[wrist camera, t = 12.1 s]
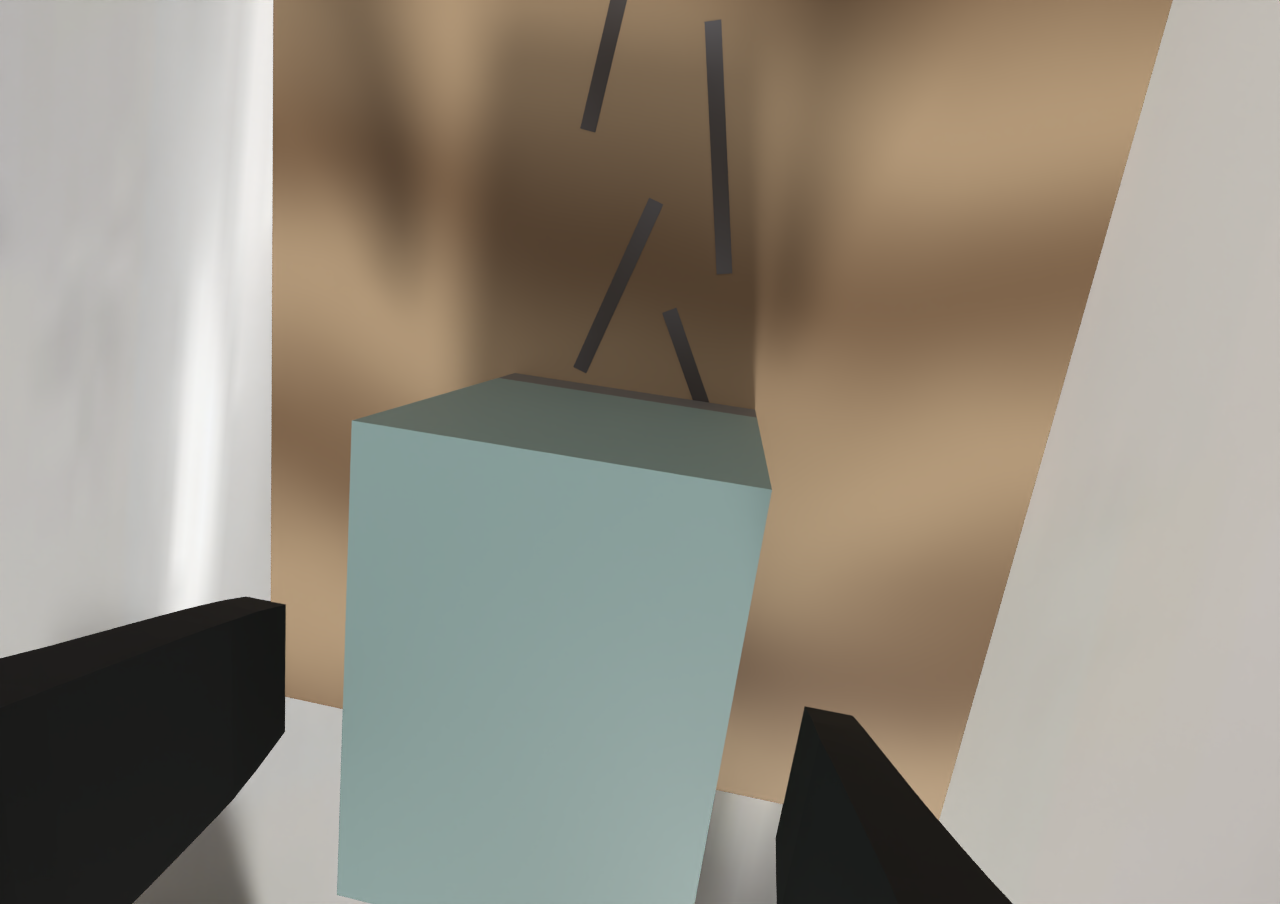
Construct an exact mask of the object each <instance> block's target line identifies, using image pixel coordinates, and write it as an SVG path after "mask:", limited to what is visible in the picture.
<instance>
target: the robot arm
mask: <svg viewBox="0 0 1280 904" xmlns="http://www.w3.org/2000/svg"><path fill="white" fill-rule="evenodd" d="M285 648H286V604H281V603H276V602H271V601H265V600H260V599H255V598H250V597H241V598H235V599H229V600H224V601H219V602H214V603H210V604H205V605H201V606H197V607H193V608H189V609H185V610H181V611H177V612H173V613H169V614H166V615H162V616H158V617H154V618H151V619H147V620H143V621H140V622H136V623H132V624H129V625H125V626H121V627H118V628H114V629H110V630H107V631H103V632H99V633H96V634H92V635H88V636H85V637H81V638H77V639H74V640H70V641H66V642H63V643H59V644H55V645H52V646H48V647H44V648H40V649H36V650H32V651H28V652H24V653H20V654H16V655H12V656H8V657H4V658H0V904H132V903H133V902H134V901H135V900H136V899H137V898H138V897H139V896H140V895H141V894H142V893H143V892H144V891H145V890H146V889H147V888H148V887H149V886H150V885H151V884H152V883H153V882H154V881H155V880H156V879H157V878H158V877H159V876H160V875H161V874H162V873H163V872H164V871H165V870H166V869H167V868H168V867H169V866H170V865H171V864H172V863H173V861H174V860H175V859H176V858H177V857H178V856H179V855H180V854H181V853H182V852H183V851H184V850H185V849H186V848H187V847H188V846H189V845H190V844H191V843H192V842H193V841H194V840H195V839H196V838H197V837H198V836H199V835H200V834H201V833H202V831H203V830H204V829H205V828H206V827H207V826H208V825H209V824H210V823H211V822H212V821H213V820H214V819H215V818H216V817H217V816H218V815H219V814H220V813H221V812H222V811H223V809H224V808H225V807H226V806H227V805H228V804H229V803H230V802H231V801H232V800H233V799H234V798H235V796H236V795H237V794H238V793H239V791H240V790H241V789H242V788H243V786H244V785H245V784H246V782H247V781H248V780H249V779H250V777H251V776H252V775H253V774H254V772H255V771H256V770H257V769H258V767H259V766H260V765H261V763H262V762H263V761H264V759H265V758H266V757H267V755H268V754H269V752H270V751H271V750H272V748H273V747H274V746H275V744H276V743H277V742H278V740H279V739H280V738H281V736H282V735H283V734H284V732H285ZM776 887H777V904H1012V903H1011V901H1010V900H1009V899H1008V898H1007V897H1006V896H1005V895H1004V894H1003V893H1002V892H1001V891H1000V890H999V889H998V888H997V886H996V885H995V884H994V883H993V882H992V881H991V880H990V879H989V878H988V877H987V876H986V874H985V873H984V872H983V871H982V870H981V869H980V868H979V866H978V865H977V864H976V863H975V862H974V861H973V860H972V859H971V857H970V856H969V855H968V854H967V853H966V852H965V851H964V850H963V848H962V847H961V846H960V845H959V844H958V843H957V841H956V840H955V839H954V838H953V837H952V836H951V834H950V833H949V832H948V831H947V830H946V829H945V827H944V826H943V825H942V824H941V823H940V821H939V820H938V819H937V818H936V817H935V816H934V814H933V813H932V812H931V811H930V810H929V808H928V807H927V806H926V805H925V804H924V802H923V801H922V800H921V799H920V797H919V796H918V795H917V794H916V793H915V791H914V790H913V789H912V788H911V786H910V785H909V784H908V783H907V782H906V780H905V779H904V778H903V777H902V775H901V774H900V773H899V772H898V770H897V769H896V768H895V767H894V765H893V764H892V763H891V762H890V760H889V759H888V758H887V757H886V755H885V754H884V753H883V752H882V750H881V749H880V748H879V747H878V745H877V744H876V743H875V742H874V740H873V739H872V738H871V737H870V735H869V734H868V733H867V732H866V731H865V729H864V728H863V727H862V726H861V724H860V723H859V722H858V721H857V720H856V719H855V718H854V716H852V715H847V714H842V713H837V712H832V711H827V710H822V709H816V708H811V707H806V706H805V707H804V712H803V716H802V721H801V725H800V730H799V734H798V739H797V744H796V748H795V753H794V757H793V762H792V766H791V771H790V776H789V780H788V785H787V789H786V794H785V798H784V803H783V808H782V812H781V817H780V821H779V826H778V830H777V835H776Z"/></svg>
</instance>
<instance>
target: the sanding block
mask: <svg viewBox="0 0 1280 904" xmlns="http://www.w3.org/2000/svg"><path fill="white" fill-rule="evenodd" d="M771 493H772V487H771V483H770V478H769V473H768V468H767V464H766V459H765V454H764V449H763V445H762V440H761V435H760V430H759V426H758V421H757V416H756V411H755V410H754V409H748V408H741V407H735V406H728V405H722V404H715V403H708V402H702V401H695V400H689V399H682V398H676V397H669V396H663V395H656V394H649V393H643V392H636V391H630V390H623V389H617V388H610V387H603V386H597V385H590V384H584V383H577V382H571V381H564V380H557V379H551V378H544V377H538V376H531V375H525V374H518V373H513V374H510V375H506V376H503V377H499V378H496V379H493V380H489V381H486V382H482V383H479V384H475V385H472V386H469V387H465V388H462V389H458V390H455V391H451V392H448V393H445V394H441V395H438V396H434V397H431V398H427V399H424V400H421V401H417V402H414V403H410V404H407V405H403V406H400V407H397V408H393V409H390V410H386V411H383V412H379V413H376V414H372V415H369V416H366V417H362V418H359V419H355V420H352V429H351V461H350V493H349V526H348V558H347V590H346V622H345V655H344V687H343V719H342V751H341V784H340V816H339V848H338V880H337V895H339V896H344V897H348V898H352V899H356V900H360V901H364V902H368V903H372V904H695V899H696V893H697V888H698V883H699V877H700V872H701V867H702V861H703V856H704V851H705V845H706V840H707V835H708V829H709V824H710V818H711V813H712V808H713V802H714V797H715V792H716V786H717V781H718V776H719V770H720V765H721V760H722V754H723V749H724V744H725V738H726V733H727V728H728V722H729V717H730V712H731V706H732V701H733V696H734V690H735V685H736V680H737V674H738V669H739V664H740V658H741V653H742V647H743V642H744V637H745V631H746V626H747V621H748V615H749V610H750V605H751V599H752V594H753V589H754V583H755V578H756V573H757V567H758V562H759V557H760V551H761V546H762V541H763V535H764V530H765V525H766V519H767V514H768V509H769V503H770V498H771Z"/></svg>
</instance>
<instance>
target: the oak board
mask: <svg viewBox="0 0 1280 904" xmlns="http://www.w3.org/2000/svg"><path fill="white" fill-rule="evenodd" d="M1172 1H1173V0H274V4H273V231H272V457H271V602H276V603H281V604H286V648H285V697H290V698H294V699H299V700H304V701H308V702H313V703H317V704H322V705H327V706H331V707H336V708H341V709H343V687H344V655H345V622H346V590H347V558H348V526H349V493H350V461H351V429H352V420H355V419H359V418H362V417H366V416H369V415H372V414H376V413H379V412H383V411H386V410H390V409H393V408H397V407H400V406H403V405H407V404H410V403H414V402H417V401H421V400H424V399H427V398H431V397H434V396H438V395H441V394H445V393H448V392H451V391H455V390H458V389H462V388H465V387H469V386H472V385H475V384H479V383H482V382H486V381H489V380H493V379H496V378H499V377H503V376H506V375H510V374H513V373H518V374H525V375H531V376H538V377H544V378H551V379H557V380H564V381H571V382H577V383H584V384H590V385H597V386H603V387H610V388H617V389H623V390H630V391H636V392H643V393H649V394H656V395H663V396H669V397H676V398H682V399H689V400H695V401H702V402H708V403H715V404H722V405H728V406H735V407H741V408H748V409H754V410H755V411H756V416H757V421H758V426H759V430H760V435H761V440H762V445H763V449H764V454H765V459H766V464H767V468H768V473H769V478H770V483H771V487H772V493H771V498H770V503H769V509H768V514H767V519H766V525H765V530H764V535H763V541H762V546H761V551H760V557H759V562H758V567H757V573H756V578H755V583H754V589H753V594H752V599H751V605H750V610H749V615H748V621H747V626H746V631H745V637H744V642H743V647H742V653H741V658H740V664H739V669H738V674H737V680H736V685H735V690H734V696H733V701H732V706H731V712H730V717H729V722H728V728H727V733H726V738H725V744H724V749H723V754H722V760H721V765H720V770H719V776H718V781H717V786H716V790H720V791H724V792H729V793H734V794H738V795H743V796H747V797H752V798H757V799H761V800H766V801H771V802H775V803H780V804H783V803H784V798H785V794H786V789H787V785H788V780H789V776H790V771H791V766H792V762H793V757H794V753H795V748H796V744H797V739H798V734H799V730H800V725H801V721H802V716H803V712H804V707H805V706H806V707H811V708H816V709H822V710H827V711H832V712H837V713H842V714H847V715H852V716H854V718H855V719H856V720H857V721H858V722H859V723H860V724H861V726H862V727H863V728H864V729H865V731H866V732H867V733H868V734H869V735H870V737H871V738H872V739H873V740H874V742H875V743H876V744H877V745H878V747H879V748H880V749H881V750H882V752H883V753H884V754H885V755H886V757H887V758H888V759H889V760H890V762H891V763H892V764H893V765H894V767H895V768H896V769H897V770H898V772H899V773H900V774H901V775H902V777H903V778H904V779H905V780H906V782H907V783H908V784H909V785H910V786H911V788H912V789H913V790H914V791H915V793H916V794H917V795H918V796H919V797H920V799H921V800H922V801H923V802H924V804H925V805H926V806H927V807H928V808H929V810H930V811H931V812H932V813H933V814H934V816H935V817H936V818H937V819H938V820H939V818H940V815H941V811H942V808H943V804H944V801H945V797H946V794H947V790H948V787H949V783H950V780H951V776H952V773H953V769H954V766H955V762H956V759H957V755H958V752H959V748H960V745H961V741H962V738H963V734H964V730H965V727H966V723H967V720H968V716H969V713H970V709H971V706H972V702H973V699H974V695H975V692H976V688H977V685H978V681H979V678H980V674H981V671H982V667H983V664H984V660H985V657H986V653H987V650H988V646H989V643H990V639H991V636H992V632H993V629H994V625H995V622H996V618H997V615H998V611H999V608H1000V604H1001V601H1002V597H1003V594H1004V590H1005V587H1006V583H1007V580H1008V576H1009V573H1010V569H1011V566H1012V562H1013V559H1014V555H1015V552H1016V548H1017V545H1018V541H1019V538H1020V534H1021V531H1022V527H1023V524H1024V520H1025V516H1026V513H1027V509H1028V506H1029V502H1030V499H1031V495H1032V492H1033V488H1034V485H1035V481H1036V478H1037V474H1038V471H1039V467H1040V464H1041V460H1042V457H1043V453H1044V450H1045V446H1046V443H1047V439H1048V436H1049V432H1050V429H1051V425H1052V422H1053V418H1054V415H1055V411H1056V408H1057V404H1058V401H1059V397H1060V394H1061V390H1062V387H1063V383H1064V380H1065V376H1066V373H1067V369H1068V366H1069V362H1070V359H1071V355H1072V352H1073V348H1074V345H1075V341H1076V338H1077V334H1078V331H1079V327H1080V324H1081V320H1082V317H1083V313H1084V310H1085V306H1086V302H1087V299H1088V295H1089V292H1090V288H1091V285H1092V281H1093V278H1094V274H1095V271H1096V267H1097V264H1098V260H1099V257H1100V253H1101V250H1102V246H1103V243H1104V239H1105V236H1106V232H1107V229H1108V225H1109V222H1110V218H1111V215H1112V211H1113V208H1114V204H1115V201H1116V197H1117V194H1118V190H1119V187H1120V183H1121V180H1122V176H1123V173H1124V169H1125V166H1126V162H1127V159H1128V155H1129V152H1130V148H1131V145H1132V141H1133V138H1134V134H1135V131H1136V127H1137V124H1138V120H1139V117H1140V113H1141V110H1142V106H1143V103H1144V99H1145V95H1146V92H1147V88H1148V85H1149V81H1150V78H1151V74H1152V71H1153V67H1154V64H1155V60H1156V57H1157V53H1158V50H1159V46H1160V43H1161V39H1162V36H1163V32H1164V29H1165V25H1166V22H1167V18H1168V15H1169V11H1170V8H1171V4H1172Z"/></svg>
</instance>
